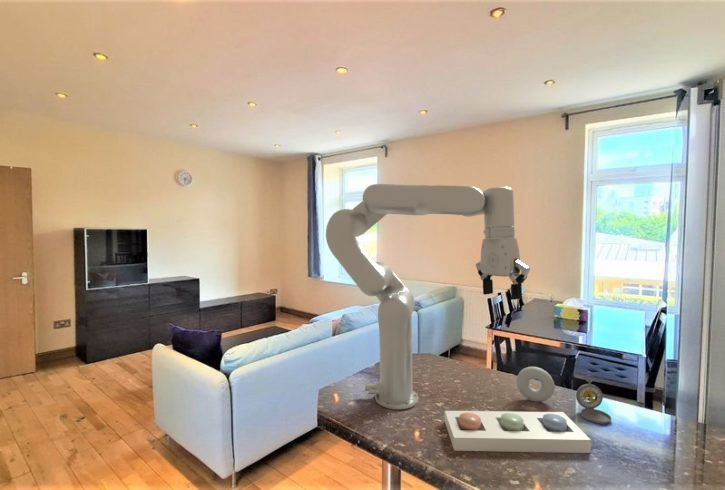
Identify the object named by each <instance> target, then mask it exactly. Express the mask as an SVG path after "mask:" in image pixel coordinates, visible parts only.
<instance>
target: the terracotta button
mask: <svg viewBox="0 0 725 490" xmlns="http://www.w3.org/2000/svg"><path fill="white" fill-rule="evenodd" d="M459 426H460V427H461V428H462V429H461V430H471V431H480V429H481V418H480V417H479V416H478V415H476V414H473V413H462V414H460V416H459Z"/></svg>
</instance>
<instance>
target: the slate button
mask: <svg viewBox="0 0 725 490" xmlns="http://www.w3.org/2000/svg"><path fill="white" fill-rule="evenodd" d="M543 426H544V428H545V429H547V431H548V432H566V431H567V421H566V419H565V418H563V417H562V416H559V415H556V414H545V415H543Z"/></svg>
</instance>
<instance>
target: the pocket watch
mask: <svg viewBox="0 0 725 490" xmlns="http://www.w3.org/2000/svg"><path fill="white" fill-rule="evenodd" d="M587 377H592V379H591V378H588V379H586V378H587ZM583 379H584V380H585V381H586V382H587V383H585V384H582V385H580V386H579V387H578V388H577V390H576V392H575V397H576V401H577V403H578V404H579V405H580V406H581V407H583V408H582V410H581V413H580V414H581V416H582V417H583V418H584V419H586V420H587V421H590V422H592V423H596V424H602V425H604V424H609V423H611V422H612V417H611V415H610V414H608V413H607V412H605V411H603V410H599V409H596V408H598V407H599V406H600V405H601V404H602V402H603V398H604V396H603V392H602V390H601V388H599V387H598V386H597V385H595V384H592V382H594V381H595V377H594V376H593V375H590V374H586V375H584V377H583Z"/></svg>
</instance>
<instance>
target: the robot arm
mask: <svg viewBox="0 0 725 490" xmlns="http://www.w3.org/2000/svg"><path fill="white" fill-rule="evenodd" d="M514 204H515V203H514V191H513V189H512V188H511V187H510V186H509V187H508V186H497V187H495V186H494V187H489V188H487V189H485V190H481V189H480V188H477V187H475V186H470V185H442V184H440V185H438V184H437V185H426V184H425V185H424V184H419V185H417V184H393V183H391V184H389V183H374V184H371V185H369V186H367V187H366V188H365V190H364V191H363V193H362V201H360V202H359V203H358V204H357V205H356V206H355V207H353V208H352V209H349V208H348V209H347V208H344V209H339V210H337V211H336V212H334V213H333V214H332V215H331V216H330V218H329V219H328V222H327V225H326V228H325V240H326V244H327V246H328V248H329V251H330V252H331V254H332V255H333V257H335V259H336V260H337V261H338V263H339V264H340V265H341V266H342V268H343V269H344V270H345V272H346V273H347V275H348V276H349V277H350V278H351V279H352V282H354V284H356V286H357V287H358V288H359V290H360V291H361V293H363V294H364V295H366V296H368V297H376V298H377V299H378V300H379V305H378V309H377V322H378V331H379V335H378V336H379V380H378V383H377V382H376V383H375V384H370V383H369V384H368V383H366V384H364V386H365V387H364V391H365V392H368V394H369V395H374V400H375V402H376V403H377V404H378V405H380V406H381V407H383V408H386V409H390V410H405V409H406V410H407V409H410V408H413V407H414V406H416V405H417V404H418V402H419V395H418V393H417V392H416V391H415V390H413V330H412V329H413V327H412V325H413V323H412V321H413V320H412V318H413V312H414V309H415V298H414V296H413V294H412V293H411V291H410V290H409V289H408V288H407V286H406V285H405V284H404V282H403V281H402V280H401V279H400V278H399V277H398V276H397V274H396V272H394V270H392V268H391V267H389V266H388V265H387V264H385V263H383V262H382V261H381V262H380V261H375V259H374V258H373V257H372V256H371V255H370V254H369V252H368V251H367V250H366V249H365V248H364V246H363V245H361V244H360V242H359V241H358V239H357V237H360V236H362V235H364V234H365V233H366V232H368V231H369V230H370V229H371V228H372V227H374V226H375V225H376V224H377V223H379V222H380V221H381V220H382V219H383V218H384V217H385V216H386V215H404V216H405V215H406V216H425V215H434V214H435V215H453V216H454V215H455V216H464V217H467V218H469V217H475V216H480V215H483V217H484V219H483V220H484V230H483V234H484V238H483V239H482V244H481V249H480V261H478V262H477V263H476V264H475V267H476V269H477V273H478V275H479V276H480V280H481V281H482V294H483V295H491V294H493V293H494V283H493V279H492V277H493V276H495V277H504V278H505V277H508V278H509V279H510V281H511V284H510V296H511V297H510V298H511V299H512V300H520V299H521V300H522V298H523V291H522V290H523V288H522V287H523V286H522V284H524V283H525V281H526V279H527V278H528V275H529V273H530V270H531V268H530V267H529V266H528V265H526V264H525V263H523V262H521V256H520V255H521V254H520V249H519V244H518V243H519V242H518V239H517V238H516V235H515V234H516V233H515V231H516V230H515V207H514V206H515V205H514Z"/></svg>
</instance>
